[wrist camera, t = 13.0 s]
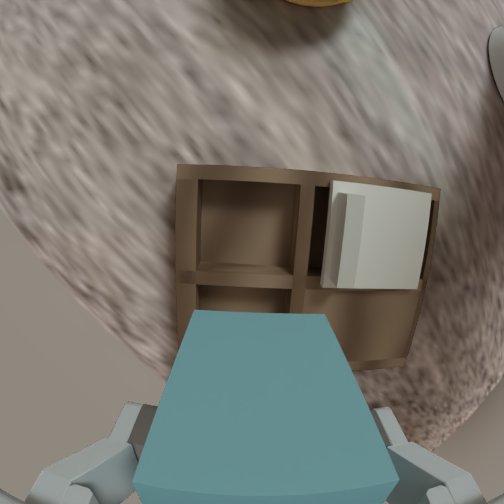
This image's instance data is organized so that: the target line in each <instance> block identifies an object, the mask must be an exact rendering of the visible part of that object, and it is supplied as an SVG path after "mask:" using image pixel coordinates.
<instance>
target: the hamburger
mask: <svg viewBox="0 0 504 504" xmlns="http://www.w3.org/2000/svg"><path fill="white" fill-rule="evenodd" d="M286 1H289V2H292V3H295V4H299V5H304V6H312V7H325V6H332V5H337V4H340V3H343V2H344V3H348V2H351V1H352V0H286Z"/></svg>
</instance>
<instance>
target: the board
mask: <svg viewBox="0 0 504 504" xmlns="http://www.w3.org/2000/svg"><path fill="white" fill-rule="evenodd" d="M330 180H335V181H344V182H353V183H361V184H370V185H377V186H385V187H392V188H399V189H406V190H413V191H419V192H425V193H431V194H432V197H431V206H430V215H429V223H428V231H427V238H426V244H425V250H424V256H423V262H422V267H421V273H420V278H419V283H418V288H417V289H359V288H322V286H321V285H320V280H321V272H322V264H323V255H324V246H325V236H326V226H327V216H328V204H329V192H330ZM440 190H441V189H439V188H433V187H428V186H422V185H416V184H410V183H404V182H397V181H391V180H384V179H376V178H369V177H361V176H353V175H345V174H336V173H326V172H316V171H305V170H293V169H280V168H266V167H249V166H227V165H188V164H177V176H176V212H175V274H176V310H177V332H178V350H179V348H180V346H181V343H182V340H183V338H184V335H185V332H186V330H187V327H188V325H189V322H190V319H191V317H192V314H193V312H194V310H209V311H228V312H251V313H285V314H325V315H326V317H327V320H328V322H329V324H330V326H331V328H332V330H333V332H334V334H335V336H336V338H337V340H338V342H339V345H340V347H341V349H342V351H343V353H344V355H345V357H346V359H347V362H348V364H349V366H350V368H351V370H352V371H355V370H370V369H383V368H394V367H404V365H405V362H406V359H407V356H408V353H409V349H410V346H411V343H412V339H413V336H414V332H415V329H416V325H417V321H418V317H419V314H420V310H421V305H422V301H423V297H424V293H425V288H426V283H427V279H428V274H429V269H430V263H431V258H432V252H433V246H434V240H435V233H436V226H437V218H438V210H439V200H440Z"/></svg>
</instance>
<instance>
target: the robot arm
mask: <svg viewBox="0 0 504 504" xmlns="http://www.w3.org/2000/svg"><path fill="white" fill-rule="evenodd" d="M489 57H490V63H491V68H492V72H493V75H494V78H495V81H496V84H497V87H498V90H499V92H500V94H501V97H502V99H503V101H504V26H501V27H498V28H496V29H494V30H493V32H492V33H491V36H490V39H489ZM157 408H158V406H151V405H146V404H139V403H134V402H129V401H128V402H127V403H126V404H125V405H124V407H123V409H122V411H121V413H120V415H119V417H118V419H117V421H116V423H115V425H114V427H113V430H112V432H111V434H110V436H109V438H108V439H107V438H102V439H100V440H99V441H97V442H95V443H93V444H91V445H89V446H88V447H86V448H84V449H82V450H80V451H78V452H76V453H75V454H73V455H71V456H69V457H67V458H65V459H63V460H61V461H59V462H57V463H55V464H53V465H51V466H49V467H48V468H45V469H43V470H42V472H41V473H40V475H39V477H38V479H37V480H36V482H35V484H34V486H33V488H32V489H31V491H30V493H29V495H28V496H27V498H26V500H25V502H23V501H21V500H20V499H18V498H16V497H14V496H12V495H10V494H9V493H7V492H5V491H4V490H2V489H0V504H120V503H121V502H123V501H124V500H125V499H126V498H128V497H129V496H130V495H131V494H132V493H134V492H135V491H136V489H135V487H134V485H133V483H132V481H133V478H134V475H135V472H136V469H137V466H138V463H139V460H140V457H141V454H142V451H143V448H144V445H145V442H146V439H147V436H148V434H149V431H150V428H151V425H152V422H153V419H154V416H155V414H156V411H157ZM369 410H370V412H371V414H372V416H373V419H374V421H375V423H376V426H377V428H378V430H379V432H380V435H381V437H382V439H383V442H384V444H385V446H386V449H387V451H388V453H389V456H390V458H391V460H392V463H393V465H394V468H395V470H396V472H397V475H398V477H399V481H398V483H397V484H396V486H395V487H394V489H393V490H392V492H391V493H390V495H389V496H388V497H387V499H386V500H385V501H387V502H388V503H389V504H504V493H503V494H502V495H500V496H498V497H496V498H494V499H493V500H491V501H489V502H486V500H485V499H484V497H483V495H482V493H481V491H480V490H479V488H478V486H477V484H476V483H475V481H474V480H473V477H472V476H471V474H470V473H469V472H467V471H465V470H463V469H461V468H459V467H457V466H455V465H454V464H452V463H449V462H448V461H446V460H444V459H442V458H440V457H439V456H437V455H435V454H433V453H432V452H430V451H428V450H426V449H425V448H423V447H421V446H419V445H418V444H416V443H414V442H408V441H407V439H406V437H405V435H404V433H403V431H402V429H401V427H400V425H399V423H398V422H397V420H396V418H395V416H394V414H393V412H392V410H391V408H389V407H382V408H374V409H369Z"/></svg>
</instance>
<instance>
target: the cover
mask: <svg viewBox="0 0 504 504" xmlns="http://www.w3.org/2000/svg"><path fill="white" fill-rule="evenodd" d="M431 197H432V194H431V193H425V192H419V191H413V190H406V189H399V188H392V187H385V186H377V185H370V184H361V183H353V182H344V181H335V180H330V192H329V204H328V216H327V226H326V236H325V246H324V255H323V264H322V272H321V280H320V285H321V286H322V288H359V289H417V288H418V283H419V278H420V273H421V267H422V262H423V256H424V250H425V244H426V238H427V231H428V223H429V215H430V206H431Z"/></svg>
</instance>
